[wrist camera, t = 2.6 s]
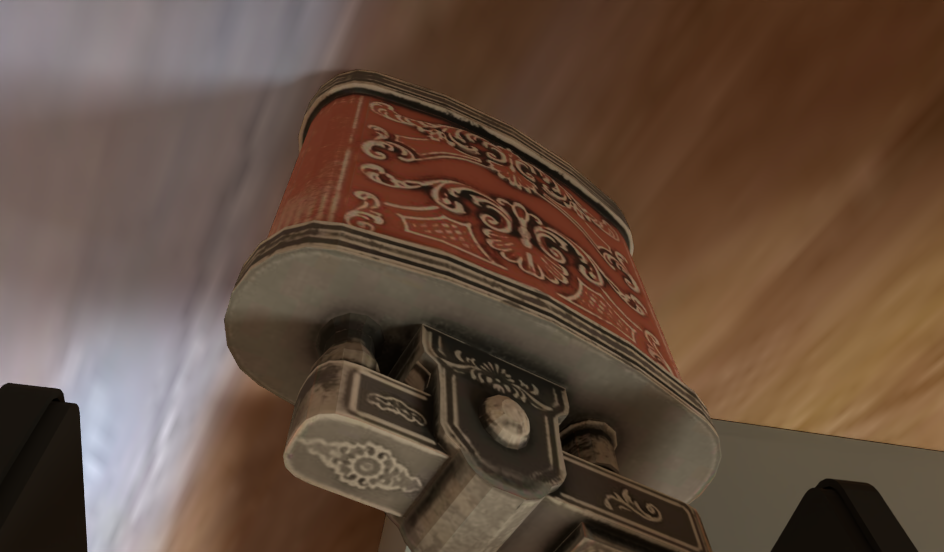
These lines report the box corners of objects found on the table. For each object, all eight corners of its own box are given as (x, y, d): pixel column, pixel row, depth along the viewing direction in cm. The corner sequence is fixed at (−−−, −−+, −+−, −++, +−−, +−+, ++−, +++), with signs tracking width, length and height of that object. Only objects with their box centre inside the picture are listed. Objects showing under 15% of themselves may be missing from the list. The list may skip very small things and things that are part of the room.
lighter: (278, 165, 18) (127, 521, 9) (344, 32, 16) (238, 310, 8) (575, 310, 20) (675, 700, 11) (657, 206, 18) (841, 565, 10)
